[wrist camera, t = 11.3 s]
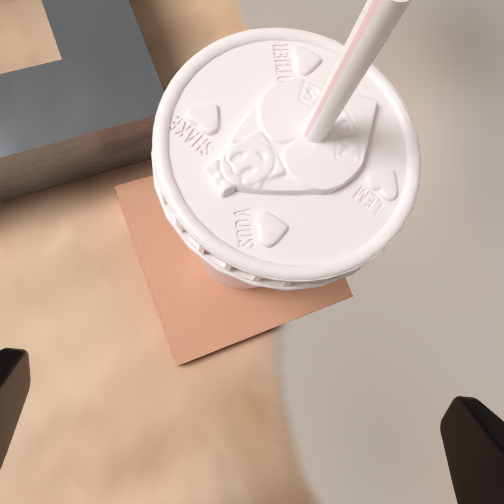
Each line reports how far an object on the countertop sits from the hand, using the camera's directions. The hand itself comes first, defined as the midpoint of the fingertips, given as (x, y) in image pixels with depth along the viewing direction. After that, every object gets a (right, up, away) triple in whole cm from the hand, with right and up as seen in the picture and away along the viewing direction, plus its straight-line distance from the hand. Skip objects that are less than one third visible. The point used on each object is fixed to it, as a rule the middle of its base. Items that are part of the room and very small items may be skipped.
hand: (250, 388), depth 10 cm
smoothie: (0, +3, +10) cm, 11 cm away
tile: (-1, +3, +11) cm, 11 cm away
